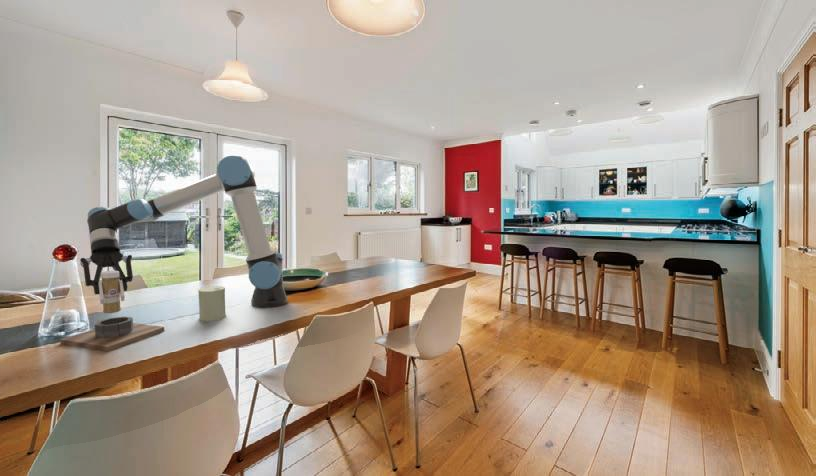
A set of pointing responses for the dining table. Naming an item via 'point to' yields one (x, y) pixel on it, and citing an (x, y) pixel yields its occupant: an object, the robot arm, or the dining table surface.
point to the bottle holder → (112, 334)
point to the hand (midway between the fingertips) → (112, 299)
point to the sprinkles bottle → (111, 291)
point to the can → (212, 303)
